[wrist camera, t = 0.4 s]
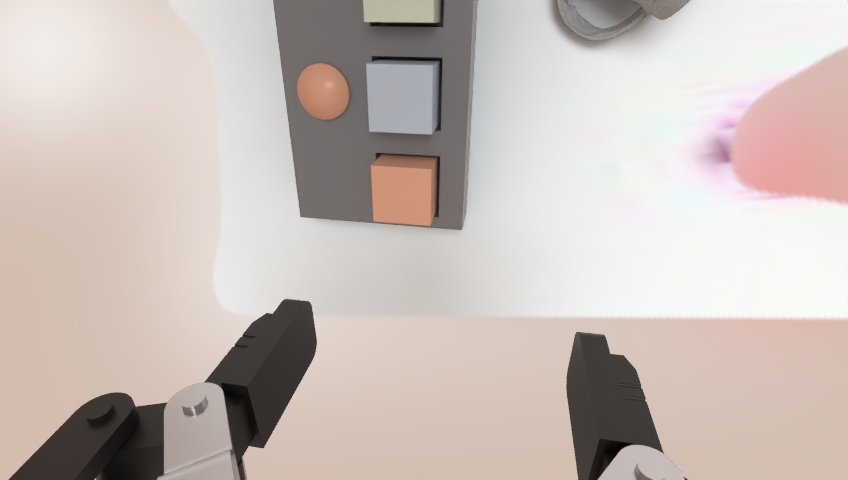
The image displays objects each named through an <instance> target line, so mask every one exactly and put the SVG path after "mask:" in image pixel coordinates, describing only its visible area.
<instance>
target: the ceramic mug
mask: <svg viewBox="0 0 848 480" xmlns="http://www.w3.org/2000/svg"><path fill="white" fill-rule="evenodd" d="M633 1H634V2H636V3H637V4H639V5H640V6H641V8H640V9H639V10H638V11H637V12H636V13H635V14H633V15H632V16H631V17H630V18H628V19H627V20H625V21H623V22H622V23H620V24H618V25H616V26H613V27H610V28H605V29H601V28H598V27H594V26H592V25H591V24H590V23H589V22H588V21H586V20H585V19H584V18H583V17H581V16H580V15H579V14H578V12H577V11H576V9H575V7H574V6H572V5H569V4H568V2H567V0H557V2H558V10H559V12H560V16H561V18H562V20H563V21H564V23H565V24H566V26H567V27H568V28H569V29H570V30H572V31H573V32H574V33H575V34H577V35H578V36H580V37H582V38H584V39H587V40H591V41H602V40H606V39H611V38H613V37H616V36H619V35H621V34H622V33H624V32H626V31H627V30H629V29H631V28H632V27H633V26H635V25H636V24H637V23H638V22H640V21H641V20H642V19H643V18H644V17H645V16H646V15H647V14H652V15H654V16H655V17H656V18H658V19H660V20H663V19H666V18H669V17H671V16H672V15H674V14H675V13H676V12H677V11H679V10H680V9H681V8H682V7H683V6H684V5H685V4H687V3H688V2H689V1H690V0H633Z"/></svg>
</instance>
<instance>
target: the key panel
mask: <svg viewBox="0 0 848 480" xmlns="http://www.w3.org/2000/svg"><path fill="white" fill-rule="evenodd" d="M273 2H274V10H275V18H276V26H277V34H278V42H279V50H280V58H281V66H282V74H283V82H284V90H285V97H286V105H287V113H288V121H289V129H290V137H291V145H292V153H293V161H294V169H295V177H296V184H297V192H298V200H299V208H300V216H301V217H308V218H320V219H332V220H345V221H357V222H369V223H382V224H394V225H406V226H419V227H431V228H443V229H456V230H462V228H463V224H464V219H465V215H466V204H467V185H468V167H469V148H470V130H471V111H472V93H473V74H474V55H475V37H476V18H477V0H441V22H437V23H414V22H364V9H363V0H273ZM376 60H411V61H440V76H439V122H438V126H437V128H436V129H435V131H434V132H433V134H432V135H430V134H409V133H389V132H369V115H368V94H367V73H366V64H367V63H370V62H373V61H376ZM381 154H393V155H410V156H428V157H438V168H437V210H436V213H435V215H434V218H433V221H432V223H431V226H424V225H411V224H399V223H387V222H374V221H373V200H372V179H371V165H372V164H373V163H374V162H375V161H376V160H377V159H378V158H379V157H380V155H381Z"/></svg>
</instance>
